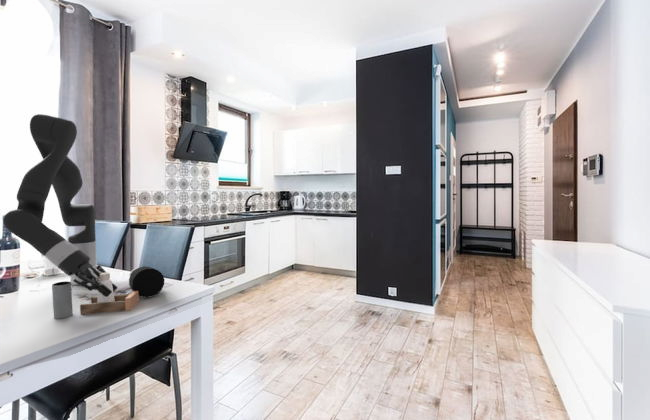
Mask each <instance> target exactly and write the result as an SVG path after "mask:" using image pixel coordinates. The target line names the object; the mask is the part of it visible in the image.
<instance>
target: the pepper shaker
mask: <svg viewBox="0 0 650 420" xmlns="http://www.w3.org/2000/svg"><path fill="white" fill-rule="evenodd" d="M99 280H101V281H100V282H101V283H102V285H105V286H106V287H107V288H109V289H110V290H111V291H112V293H111V294H110V295H109V296H107V297H105V296H104V295H103V294H101V293H100V292H99V291H97V296H96V297H97V303H104V302H115V299H114V295H115V293H114V292H113V286H112V283H113V282H112V279H111V273H110V272H108V271H106V273H101V274H100V279H99Z"/></svg>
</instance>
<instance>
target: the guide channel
mask: <svg viewBox="0 0 650 420" xmlns="http://www.w3.org/2000/svg"><path fill="white" fill-rule="evenodd" d="M97 297H98V296H91V297H90V303H81V304H80V305H79V309H80V313H79V314H80V315H89V314H103V313H114V312H126V311H132V310H133V309H134V308H135V307H136V306H137V305H138V303H139V301H140V300H139V299H140V298H139V297H140V296H139V295H138V291H133V290H132V292H130V293H129V294H117V295H116V294H114V299H115V302H104V303H97Z"/></svg>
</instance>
